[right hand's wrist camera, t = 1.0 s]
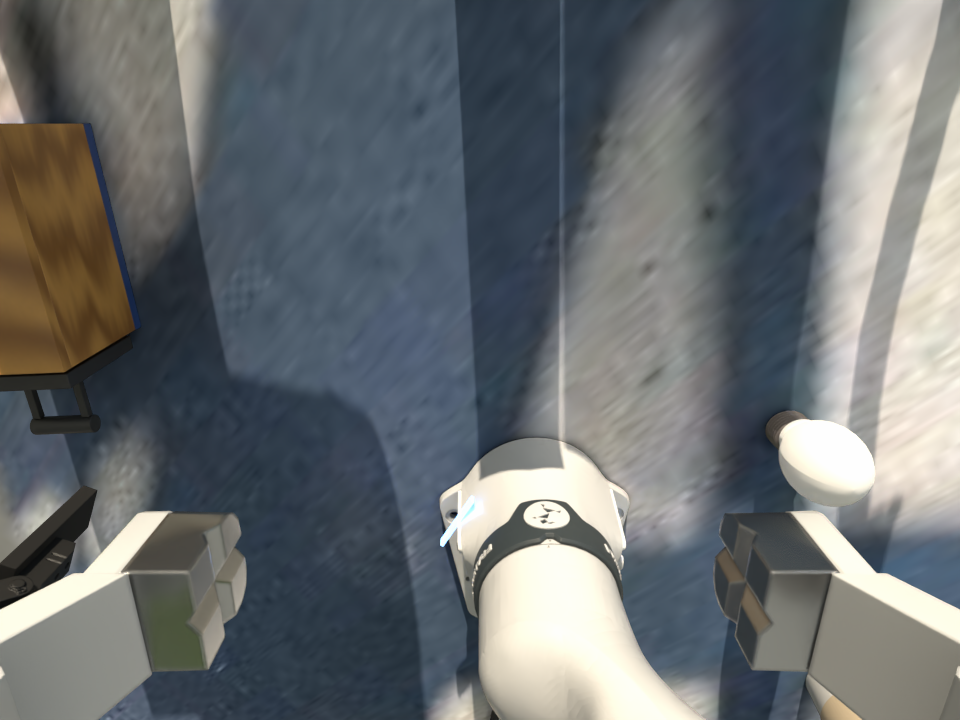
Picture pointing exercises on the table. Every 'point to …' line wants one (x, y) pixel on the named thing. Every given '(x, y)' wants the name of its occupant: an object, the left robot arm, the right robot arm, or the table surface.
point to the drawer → (65, 381)
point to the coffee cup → (828, 703)
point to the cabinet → (57, 251)
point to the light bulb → (821, 459)
